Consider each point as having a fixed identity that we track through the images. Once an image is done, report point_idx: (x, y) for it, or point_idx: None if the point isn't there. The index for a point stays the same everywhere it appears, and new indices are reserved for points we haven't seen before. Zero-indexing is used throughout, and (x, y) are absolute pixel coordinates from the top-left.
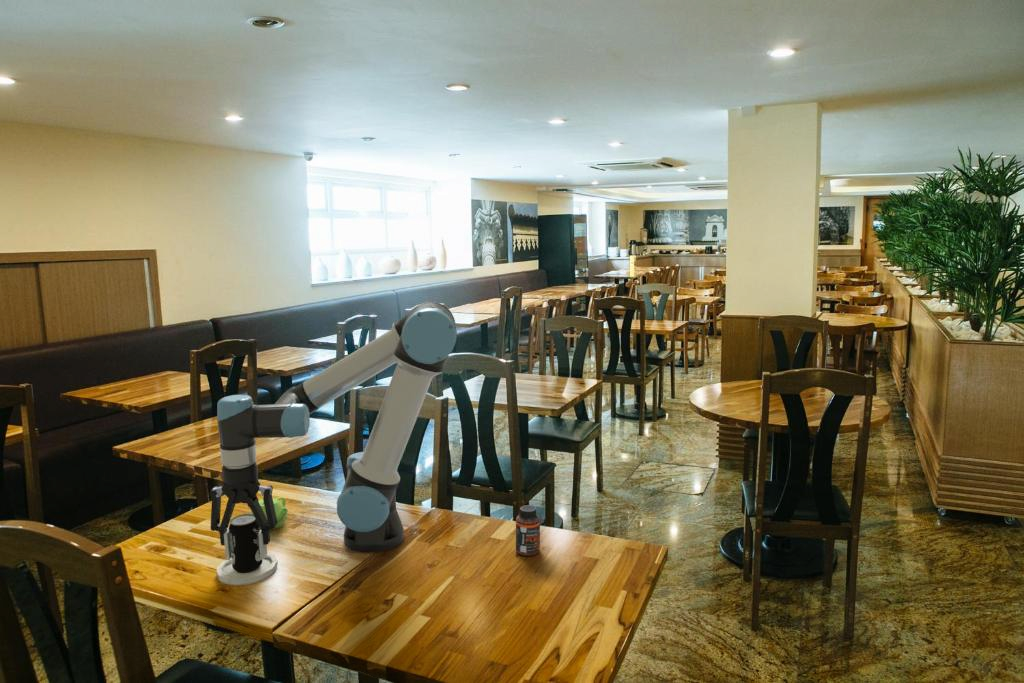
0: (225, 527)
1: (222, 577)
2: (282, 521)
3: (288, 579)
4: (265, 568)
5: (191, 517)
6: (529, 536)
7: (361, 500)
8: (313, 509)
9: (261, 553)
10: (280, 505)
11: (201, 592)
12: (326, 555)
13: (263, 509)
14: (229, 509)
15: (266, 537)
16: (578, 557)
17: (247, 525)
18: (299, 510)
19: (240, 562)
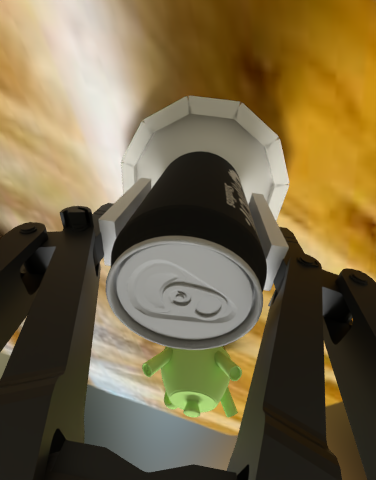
0: (286, 274)
1: (266, 125)
2: (165, 348)
3: (75, 117)
4: (151, 179)
5: (336, 395)
6: None
7: None
8: (138, 372)
9: (139, 184)
10: (165, 387)
11: (332, 63)
12: None
13: (195, 382)
14: (282, 393)
15: (97, 216)
16: None
17: (141, 239)
18: (160, 374)
19: (209, 158)
